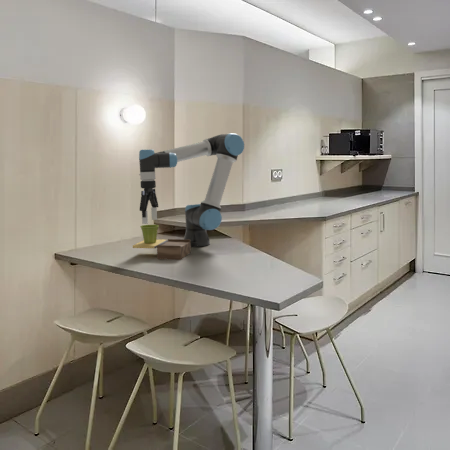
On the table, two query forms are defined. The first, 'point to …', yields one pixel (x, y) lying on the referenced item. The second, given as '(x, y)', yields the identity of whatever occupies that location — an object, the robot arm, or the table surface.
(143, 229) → the plant pot
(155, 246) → the pale yellow rectangular panel
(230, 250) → the table surface
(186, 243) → the brown cardboard box
